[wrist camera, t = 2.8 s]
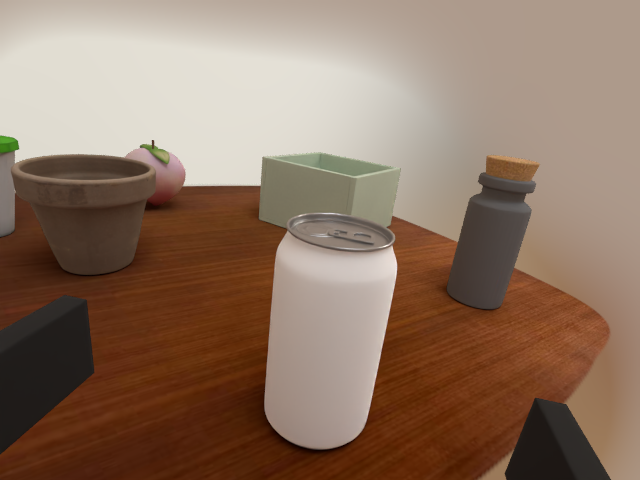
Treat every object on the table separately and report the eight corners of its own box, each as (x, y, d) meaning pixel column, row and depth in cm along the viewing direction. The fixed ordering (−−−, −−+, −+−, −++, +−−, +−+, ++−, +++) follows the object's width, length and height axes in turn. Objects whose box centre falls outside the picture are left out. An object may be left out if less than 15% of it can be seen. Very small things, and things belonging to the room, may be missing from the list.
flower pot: (136, 294, 34) (129, 183, 30) (-3, 286, 32) (-26, 169, 29) (172, 246, 44) (170, 161, 41) (69, 238, 43) (58, 150, 39)
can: (280, 365, 27) (295, 204, 23) (369, 385, 26) (403, 221, 22) (247, 438, 21) (259, 237, 17) (362, 468, 20) (405, 263, 16)
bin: (390, 225, 63) (401, 168, 60) (346, 248, 50) (356, 178, 47) (313, 203, 70) (319, 152, 67) (258, 219, 58) (262, 156, 54)
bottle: (448, 302, 39) (486, 157, 34) (444, 279, 44) (477, 151, 39) (507, 315, 38) (556, 167, 33) (496, 290, 43) (536, 160, 38)
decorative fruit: (111, 202, 57) (106, 135, 54) (161, 196, 64) (159, 135, 60) (143, 218, 52) (139, 145, 49) (194, 210, 58) (194, 144, 55)
